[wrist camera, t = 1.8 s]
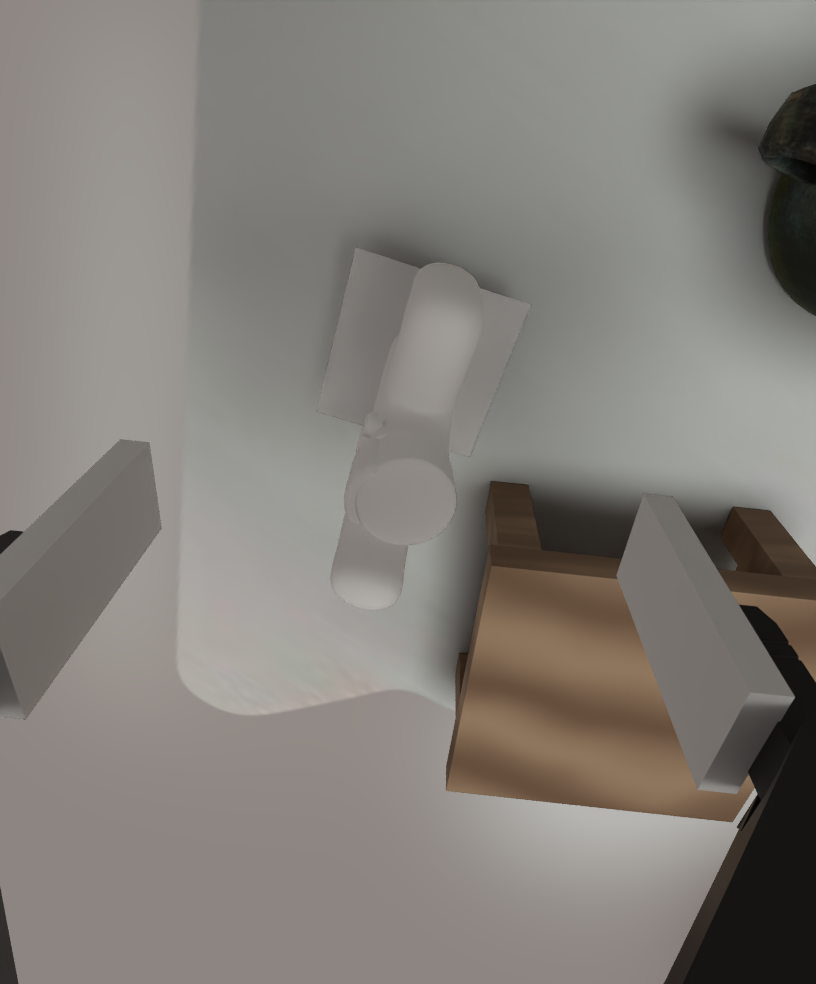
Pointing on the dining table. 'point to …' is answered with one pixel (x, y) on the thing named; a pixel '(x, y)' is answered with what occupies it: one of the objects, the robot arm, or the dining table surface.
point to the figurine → (409, 407)
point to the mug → (794, 195)
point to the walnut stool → (595, 670)
